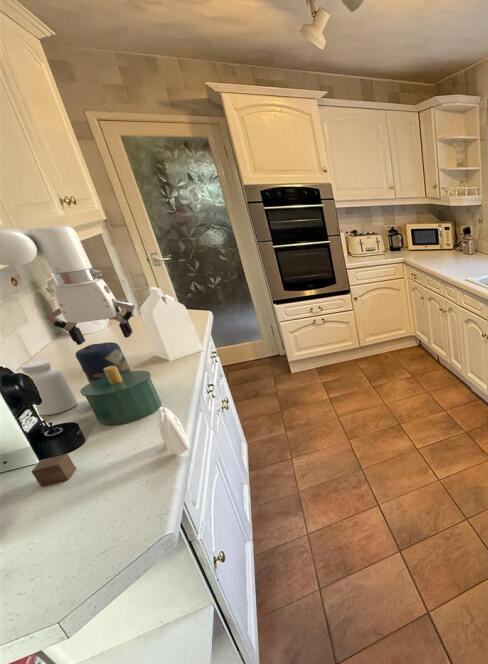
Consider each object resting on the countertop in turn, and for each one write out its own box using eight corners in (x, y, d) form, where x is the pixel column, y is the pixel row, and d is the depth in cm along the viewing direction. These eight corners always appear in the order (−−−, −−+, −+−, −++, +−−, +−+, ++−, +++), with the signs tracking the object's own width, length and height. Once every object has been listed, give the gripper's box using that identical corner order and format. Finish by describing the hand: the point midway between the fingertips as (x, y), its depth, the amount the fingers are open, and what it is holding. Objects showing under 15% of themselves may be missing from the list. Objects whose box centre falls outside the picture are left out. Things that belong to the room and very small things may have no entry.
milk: (155, 355, 153) (127, 290, 143) (189, 344, 162) (165, 283, 152) (170, 361, 148) (142, 293, 137) (204, 350, 157) (180, 286, 146)
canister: (121, 404, 119) (94, 350, 112) (90, 404, 119) (61, 350, 112) (148, 389, 128) (125, 337, 120) (120, 389, 128) (95, 338, 121)
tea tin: (91, 431, 106) (74, 400, 102) (109, 407, 117) (94, 379, 113) (155, 417, 112) (141, 387, 108) (166, 396, 123) (154, 369, 119)
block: (41, 487, 87) (30, 471, 85) (50, 475, 90) (41, 459, 88) (68, 480, 89) (58, 464, 87) (76, 468, 92) (67, 453, 90)
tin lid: (72, 404, 102) (61, 385, 100) (94, 381, 114) (85, 363, 112) (144, 390, 108) (135, 371, 106) (157, 369, 120) (150, 352, 118)
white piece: (193, 453, 96) (177, 415, 92) (172, 462, 94) (153, 423, 89) (185, 433, 104) (170, 397, 100) (165, 441, 101) (148, 404, 97)
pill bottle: (82, 406, 119) (57, 361, 112) (43, 419, 112) (15, 372, 106) (74, 399, 122) (50, 355, 116) (36, 411, 116) (9, 365, 110)
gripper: (124, 270, 106) (149, 329, 113) (35, 278, 99) (68, 341, 106) (114, 275, 100) (142, 337, 107) (19, 285, 93) (55, 351, 100)
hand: (105, 339), depth 107 cm, fingers open, 9 cm apart
